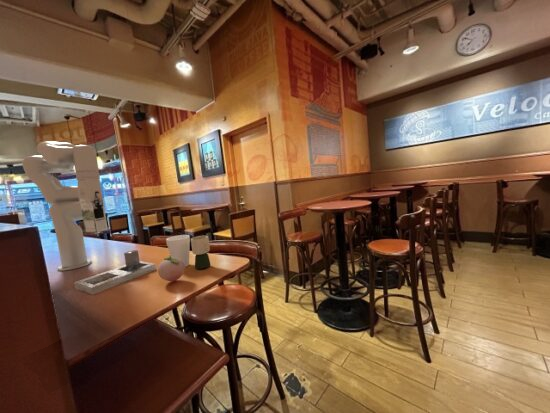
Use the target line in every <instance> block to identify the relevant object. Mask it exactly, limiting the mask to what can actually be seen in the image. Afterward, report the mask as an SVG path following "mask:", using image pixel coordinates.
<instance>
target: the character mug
mask: <svg viewBox="0 0 550 413" xmlns="http://www.w3.org/2000/svg"><path fill="white" fill-rule="evenodd" d="M190 243H191V250H192V254H193V255H195V256H194V258H195V259H194V268H195V269H197V270H200V269H206V268H208V267H210V266H211V261H210V257H209V252H210V250H211V247H210V239H209V236H208V235H199V236H195V237H191V238H190Z"/></svg>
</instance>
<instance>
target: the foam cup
mask: <svg viewBox="0 0 550 413" xmlns="http://www.w3.org/2000/svg"><path fill="white" fill-rule="evenodd" d="M165 241H166V246H167V248H168V252H169V257H170V256H171V258H173V259H180V260H181V261H182V262H183V263H184V265H185V267H186V266H188V265H189V266H190V246H191V245H190V243H191V237H190V235H189V234H180V235H174V236H170V237H167V238H166V239H165ZM189 266H188V267H189ZM186 268H187V267H186Z"/></svg>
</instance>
